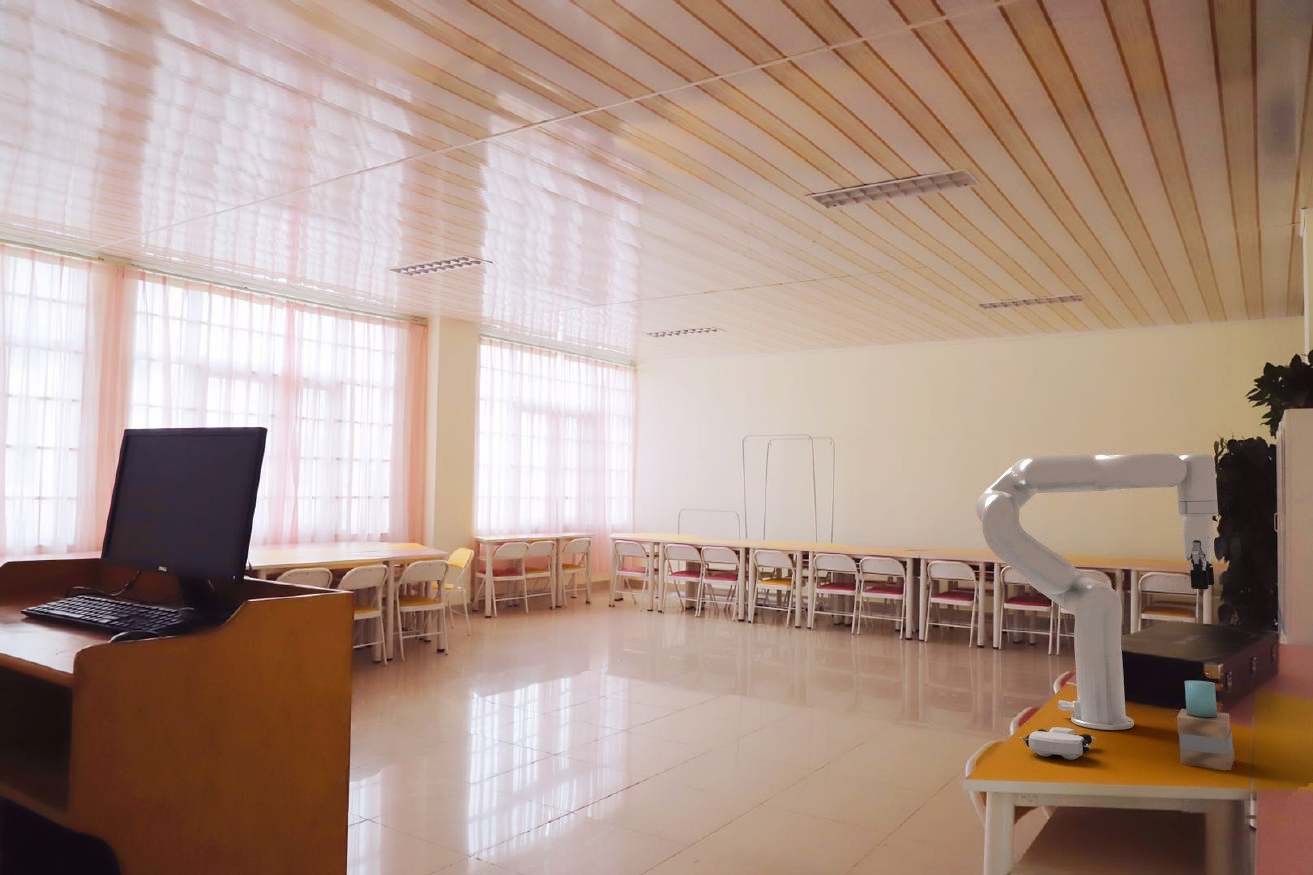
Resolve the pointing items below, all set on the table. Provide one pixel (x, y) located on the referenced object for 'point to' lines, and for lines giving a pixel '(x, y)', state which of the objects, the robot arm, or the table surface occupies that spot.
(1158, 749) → the table surface
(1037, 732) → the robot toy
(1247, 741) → the table surface
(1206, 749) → the slab middle
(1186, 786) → the table surface
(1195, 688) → the teal open box
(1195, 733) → the slab top
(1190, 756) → the slab bottom
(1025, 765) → the table surface
